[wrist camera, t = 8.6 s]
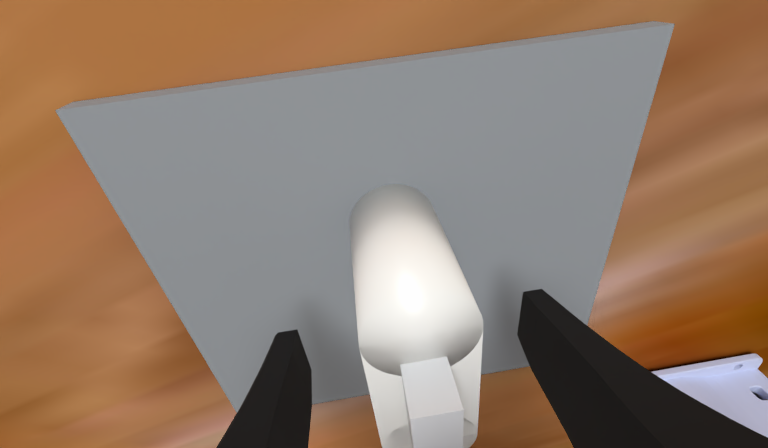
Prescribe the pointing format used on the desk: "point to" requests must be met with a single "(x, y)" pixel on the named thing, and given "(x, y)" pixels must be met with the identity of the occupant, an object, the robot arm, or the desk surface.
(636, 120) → the desk mat
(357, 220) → the connector plug
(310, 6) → the desk surface
